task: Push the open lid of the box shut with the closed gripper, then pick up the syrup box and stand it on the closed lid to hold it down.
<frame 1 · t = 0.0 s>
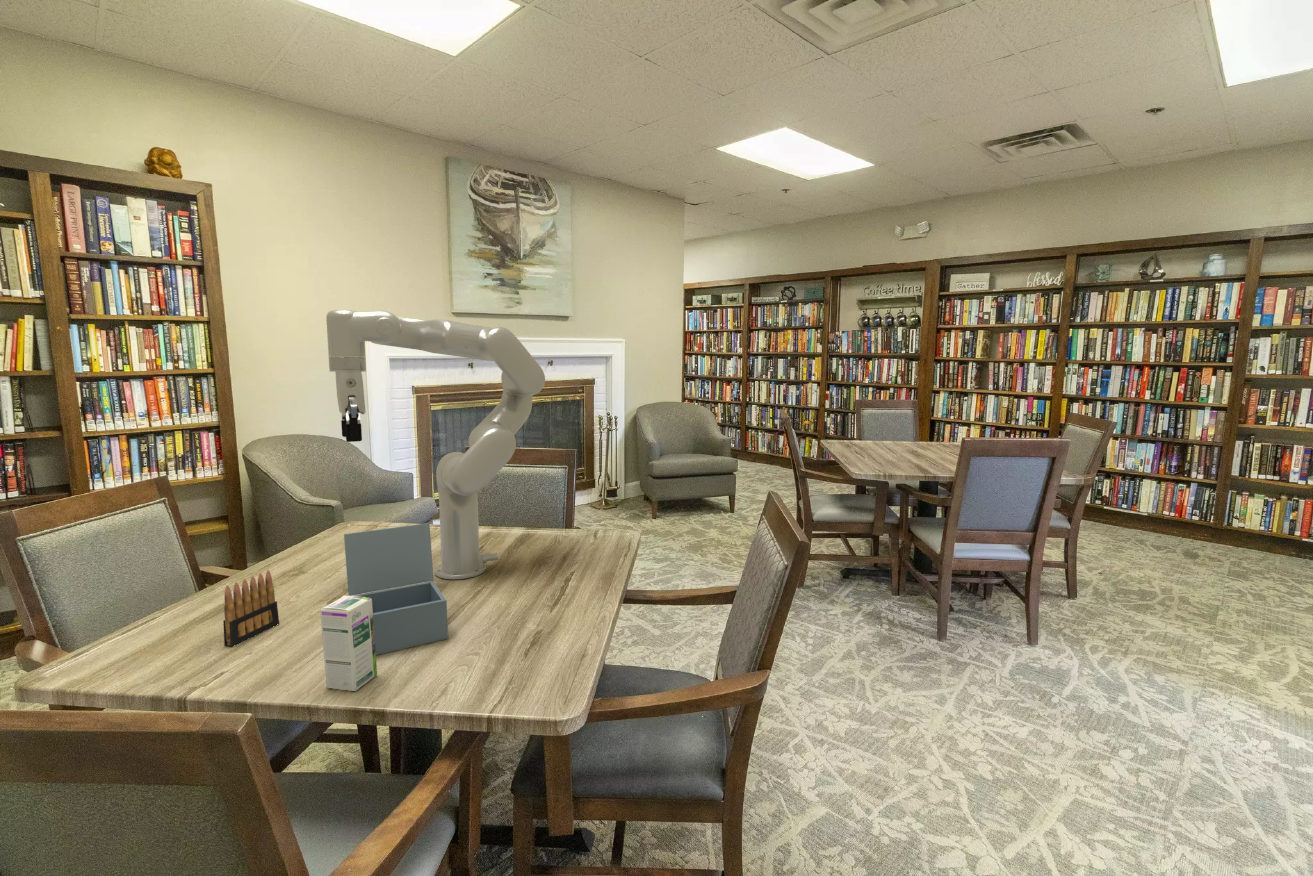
hand: (351, 438, 139), 37 cm above the table, tool pointing down, fingers open, 9 cm apart
ammunition clip: (253, 635, 120), on the table
box: (399, 636, 120), on the table
syrup box: (351, 683, 103), on the table
lid: (390, 558, 124), point 14 cm above the table, hinge at 100.0°
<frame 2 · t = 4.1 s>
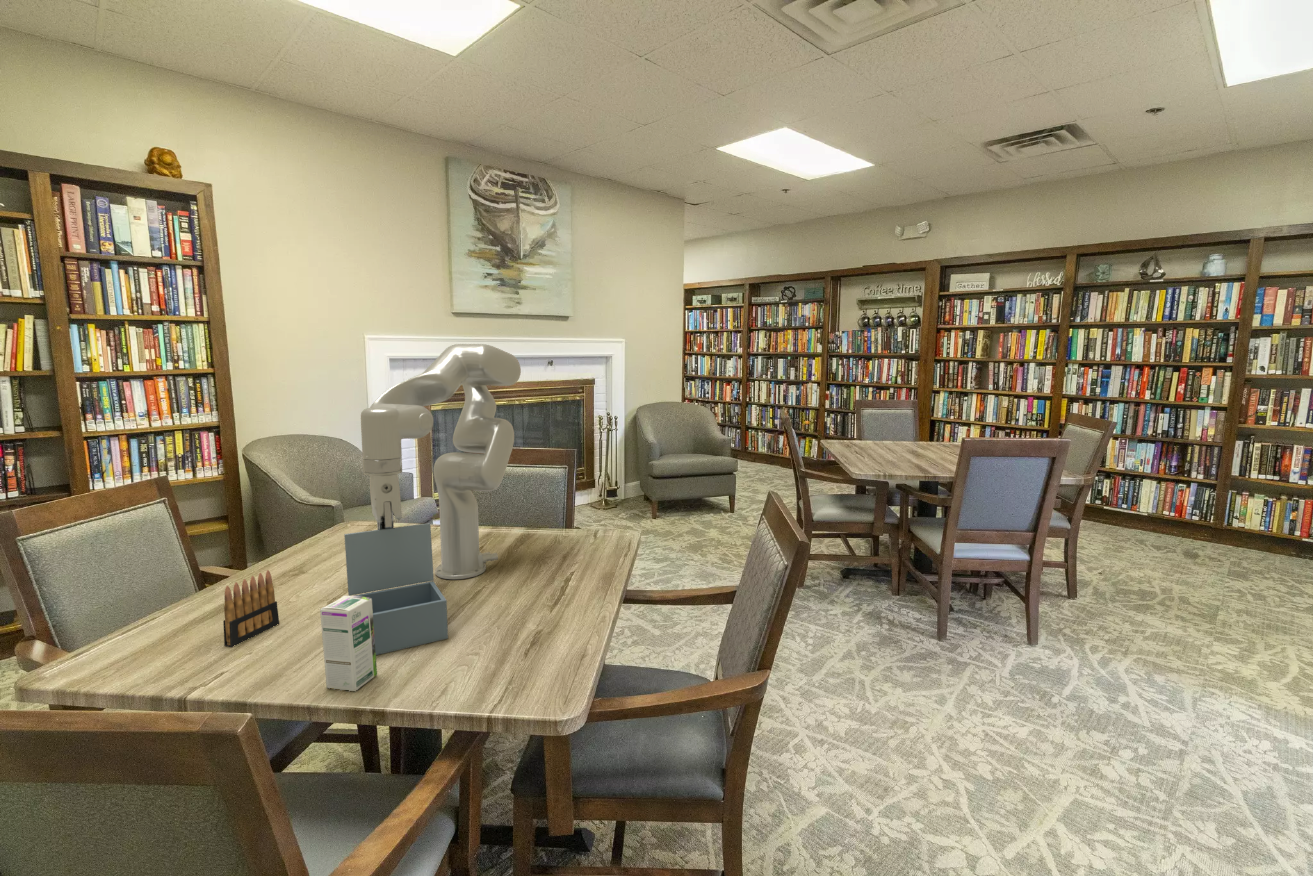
hand: (386, 550, 127), 15 cm above the table, tool pointing down, fingers closed
lid: (390, 558, 124), point 14 cm above the table, hinge at 95.5°, touching gripper
everything else where it was.
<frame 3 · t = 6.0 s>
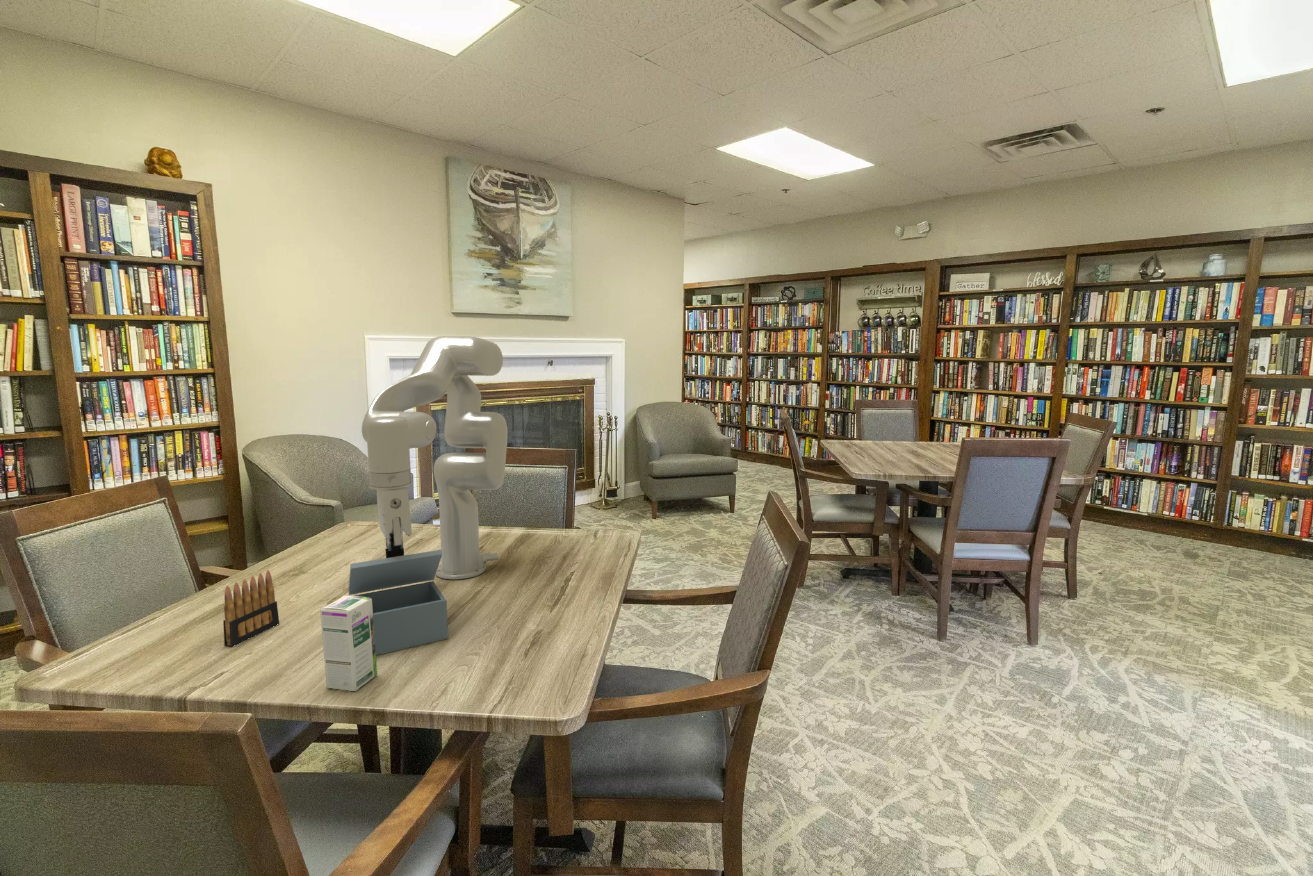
hand: (395, 567, 120), 14 cm above the table, tool pointing down, fingers closed
lid: (395, 572, 120), point 13 cm above the table, hinge at 42.6°, touching gripper
everything else where it was.
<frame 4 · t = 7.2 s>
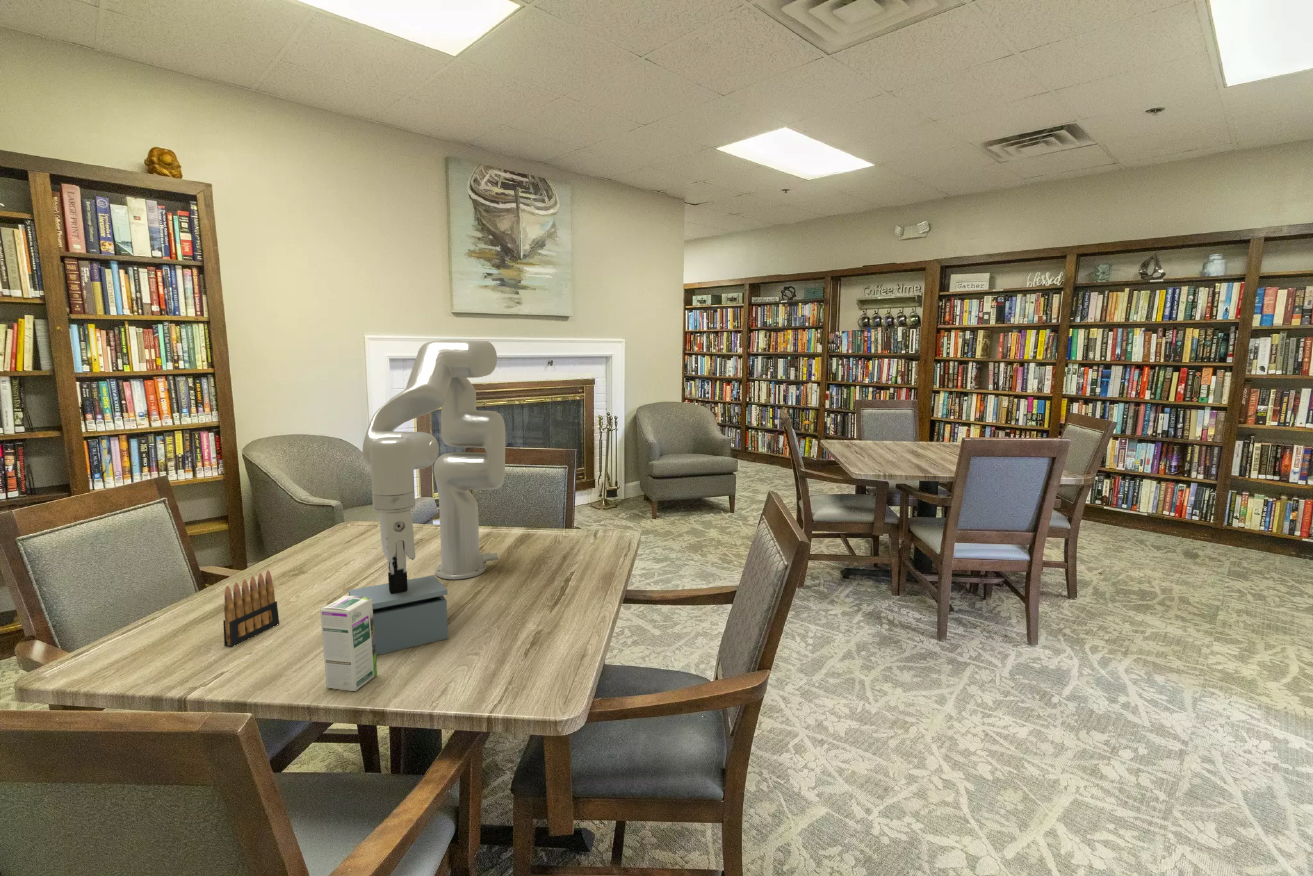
hand: (398, 591, 117), 10 cm above the table, tool pointing down, fingers closed
lid: (397, 592, 118), point 9 cm above the table, hinge at 4.5°, touching gripper
everything else where it was.
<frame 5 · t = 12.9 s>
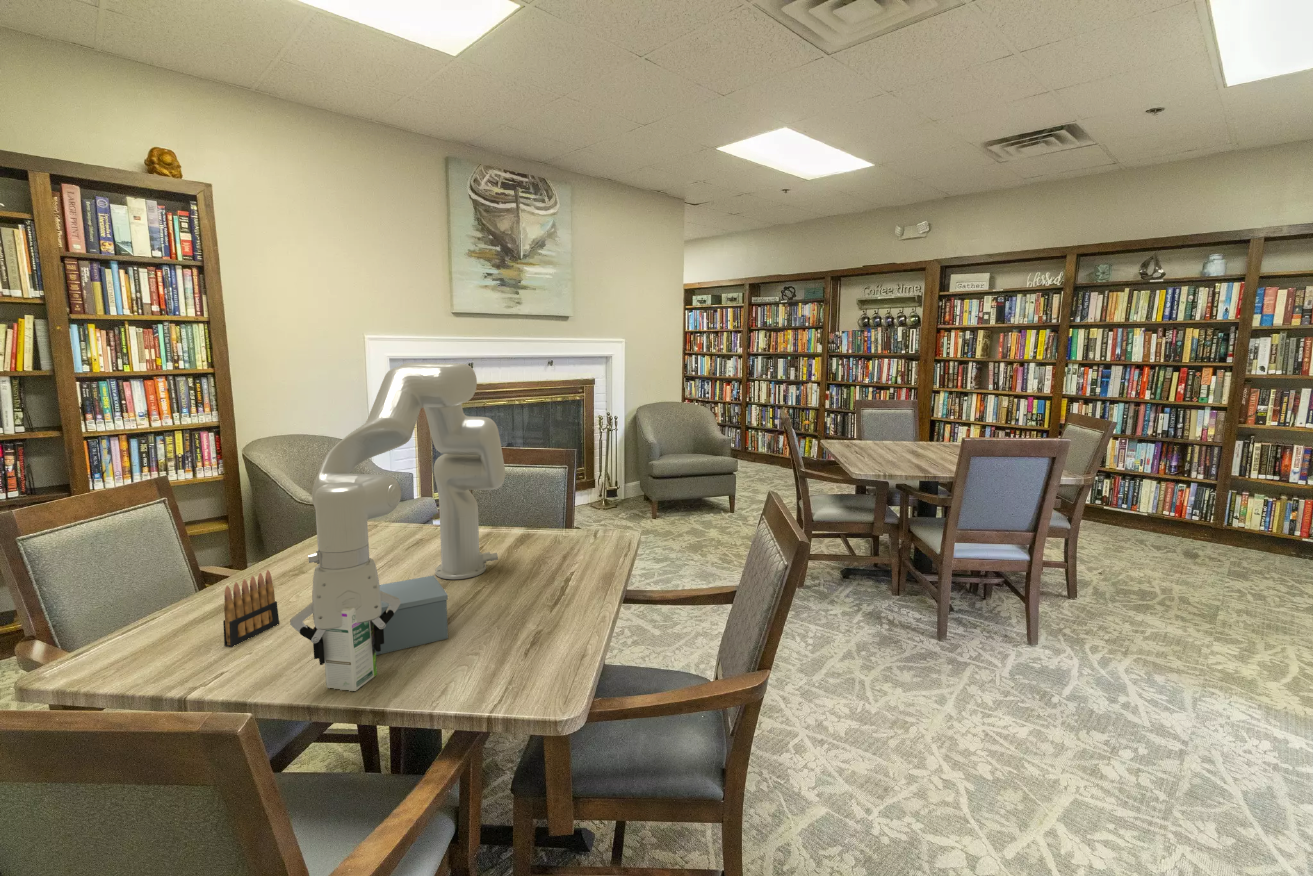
hand: (350, 654, 102), 5 cm above the table, tool pointing down, fingers closed on syrup box, 8 cm apart
syrup box: (351, 683, 103), on the table, touching gripper
lid: (397, 594, 118), point 9 cm above the table, hinge at -0.1°
everything else where it was.
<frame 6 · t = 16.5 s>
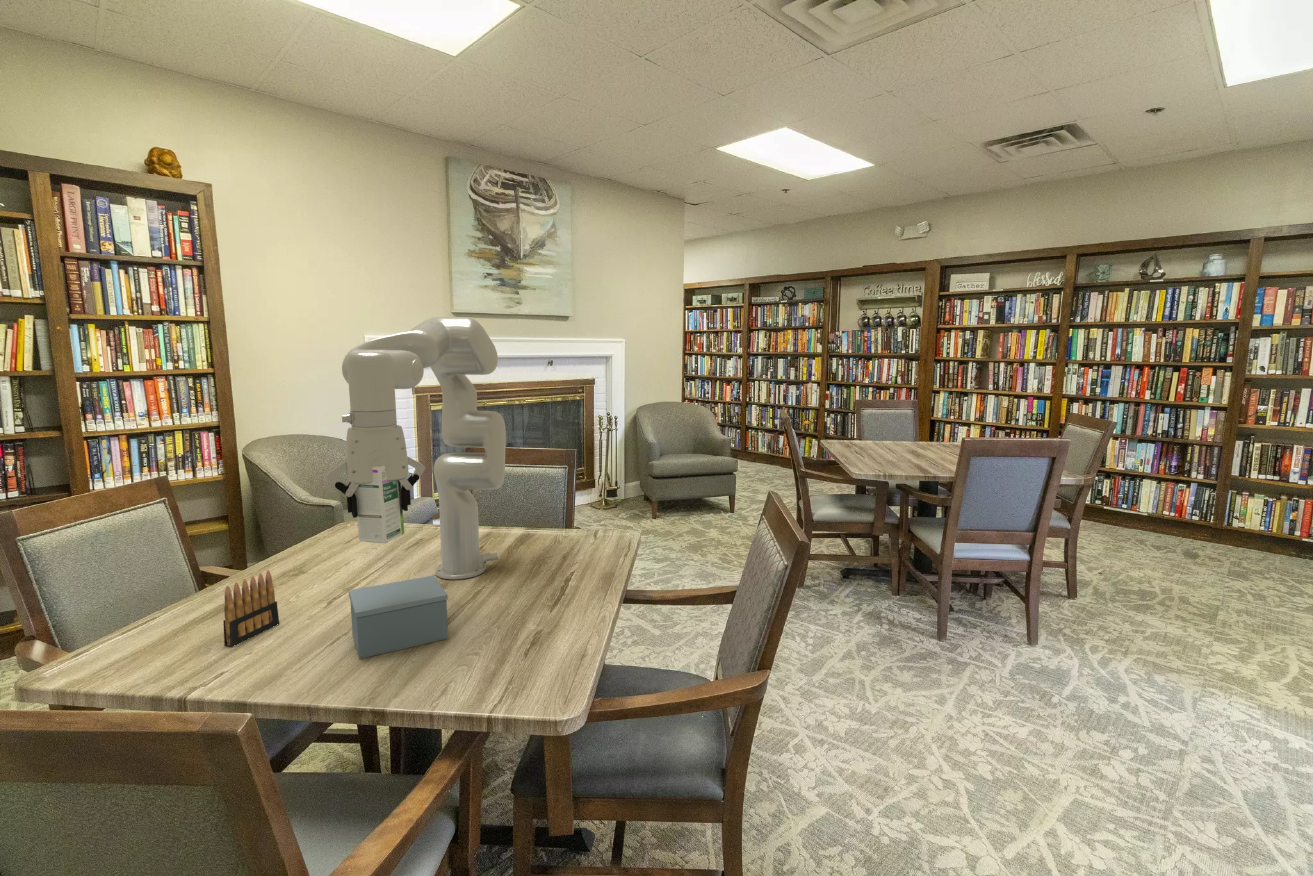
hand: (380, 512, 111), 27 cm above the table, tool pointing down, fingers closed on syrup box, 8 cm apart
syrup box: (381, 539, 112), point 22 cm above the table, touching gripper
everything else where it was.
when the fingers open (15 cm above the table, at t = 20.5 s): syrup box drops 1 cm, resting on lid.
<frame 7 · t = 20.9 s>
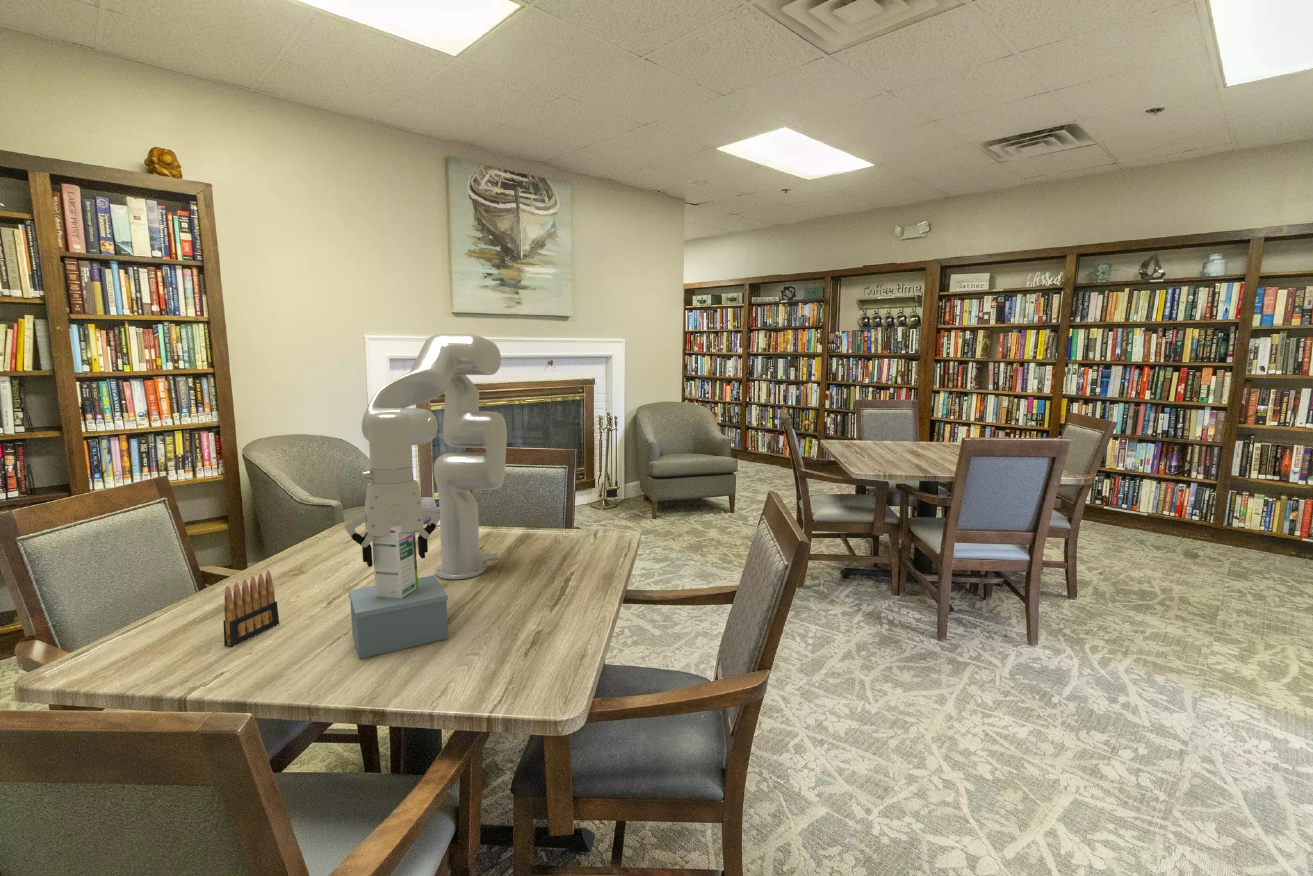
hand: (396, 560, 118), 16 cm above the table, tool pointing down, fingers open, 9 cm apart
syrup box: (397, 593, 118), point 9 cm above the table, touching lid
lid: (397, 595, 118), point 9 cm above the table, hinge at -0.5°, touching syrup box
everything else where it was.
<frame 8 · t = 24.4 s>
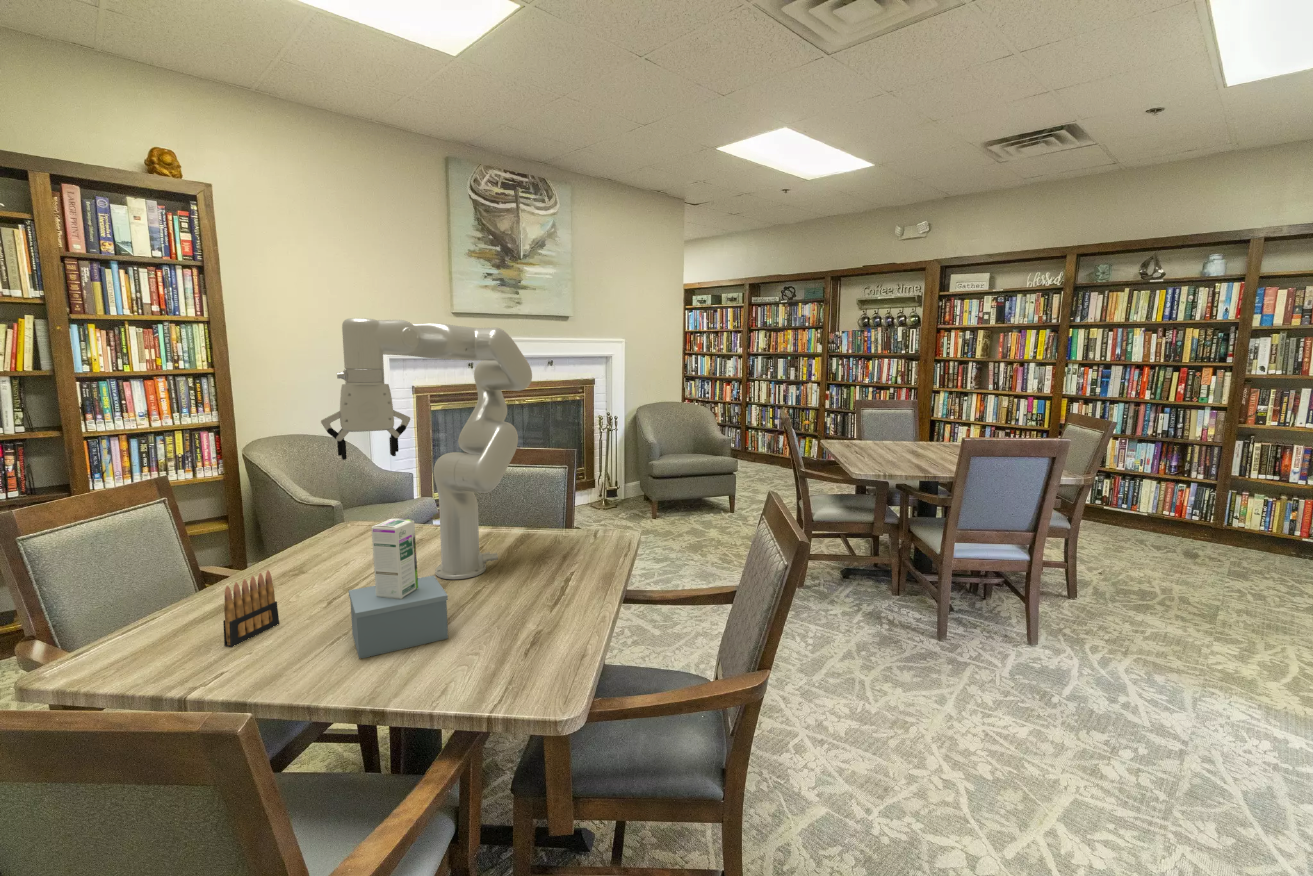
hand: (369, 457, 128), 34 cm above the table, tool pointing down, fingers open, 9 cm apart
nothing on the table moved.
at the end: lid at +0° (first picture: +100°); syrup box touching lid; the gripper is holding nothing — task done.
